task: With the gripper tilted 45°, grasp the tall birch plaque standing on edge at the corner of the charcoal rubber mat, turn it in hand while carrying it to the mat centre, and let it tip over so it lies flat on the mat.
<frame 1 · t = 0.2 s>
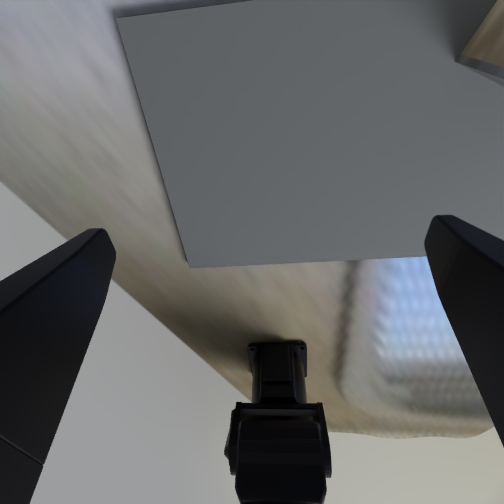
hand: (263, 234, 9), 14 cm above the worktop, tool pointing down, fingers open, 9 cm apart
mat: (354, 154, 22), on the worktop
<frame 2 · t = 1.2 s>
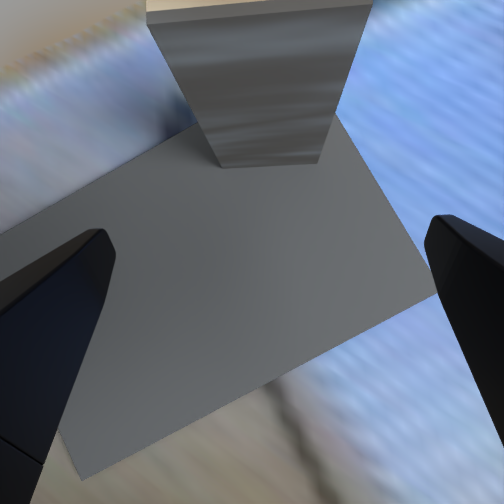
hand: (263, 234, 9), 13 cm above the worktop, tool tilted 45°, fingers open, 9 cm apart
mat: (197, 267, 23), on the worktop
plaque: (268, 145, 22), point 1 cm above the worktop, touching mat
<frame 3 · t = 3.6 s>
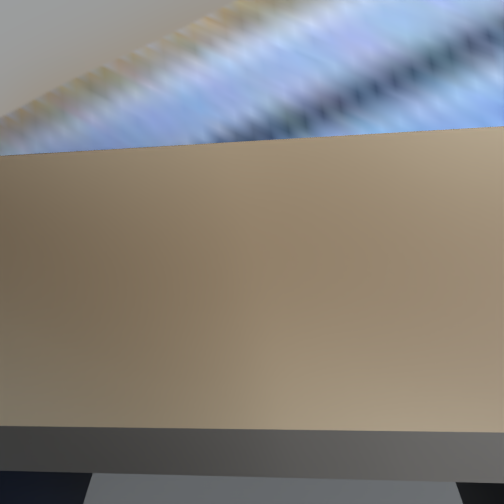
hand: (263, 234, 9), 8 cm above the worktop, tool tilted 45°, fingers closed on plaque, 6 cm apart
mat: (170, 448, 16), on the worktop
plaque: (270, 280, 16), point 1 cm above the worktop, touching gripper, mat
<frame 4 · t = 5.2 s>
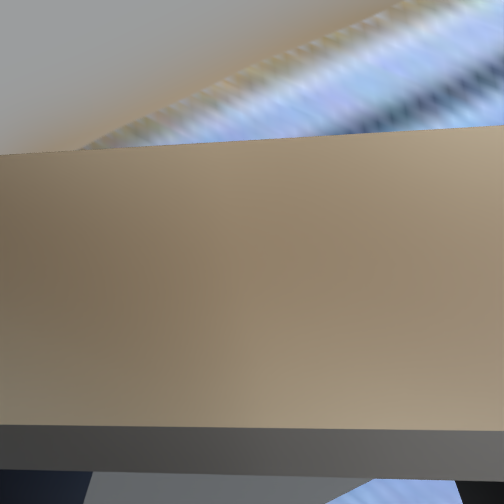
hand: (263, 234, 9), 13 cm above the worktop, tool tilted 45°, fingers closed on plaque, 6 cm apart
mat: (199, 402, 22), on the worktop
plaque: (270, 280, 16), point 6 cm above the worktop, touching gripper
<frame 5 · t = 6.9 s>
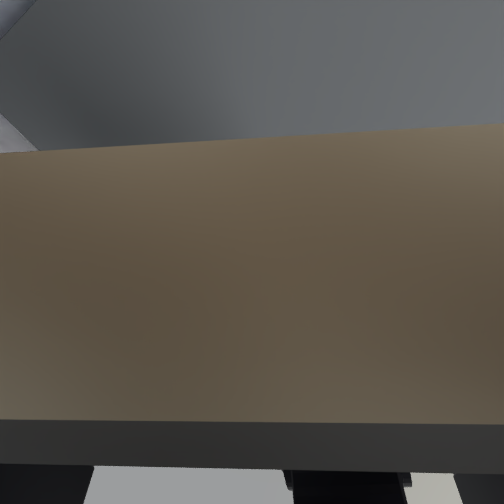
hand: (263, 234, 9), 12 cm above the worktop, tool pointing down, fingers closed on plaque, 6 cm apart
mat: (265, 92, 18), on the worktop
plaque: (270, 279, 16), point 8 cm above the worktop, tilted 44°, touching gripper
when the fingers open (7 cm above the worktop, at t = 9.3 s): plaque drops 1 cm and tips over, resting on mat.
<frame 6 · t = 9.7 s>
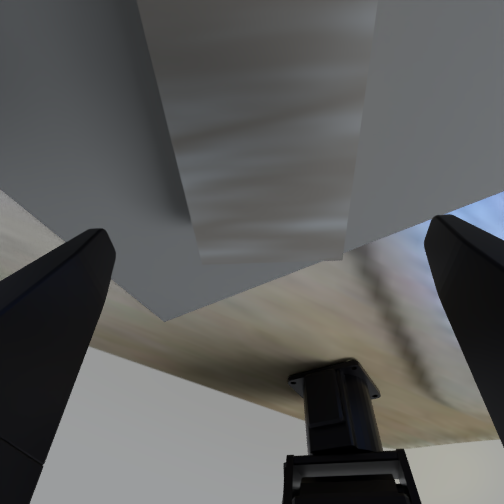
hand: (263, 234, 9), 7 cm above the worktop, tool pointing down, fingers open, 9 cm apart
mat: (264, 106, 14), on the worktop
plaque: (270, 242, 16), point 2 cm above the worktop, tilted 90°, touching mat
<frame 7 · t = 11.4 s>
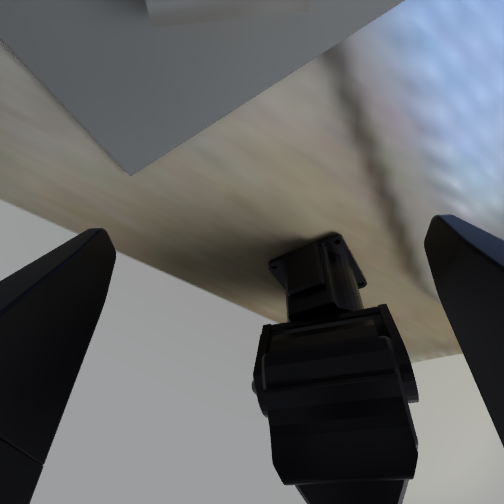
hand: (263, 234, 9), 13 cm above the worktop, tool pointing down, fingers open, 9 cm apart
plaque: (231, 15, 14), point 2 cm above the worktop, tilted 90°, touching mat
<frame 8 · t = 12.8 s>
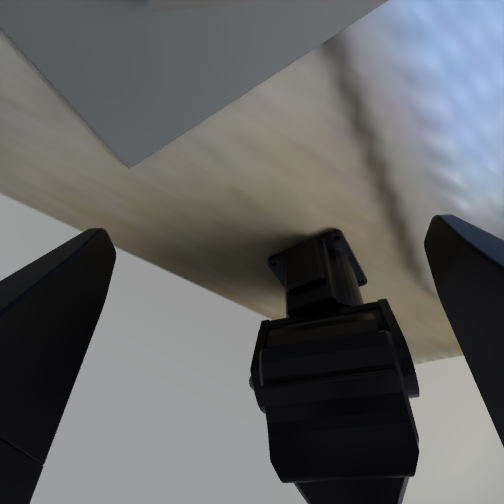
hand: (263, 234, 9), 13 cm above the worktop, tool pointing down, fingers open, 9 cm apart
plaque: (231, 2, 14), point 2 cm above the worktop, tilted 90°, touching mat
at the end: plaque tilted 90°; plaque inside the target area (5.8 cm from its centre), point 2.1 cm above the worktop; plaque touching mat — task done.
